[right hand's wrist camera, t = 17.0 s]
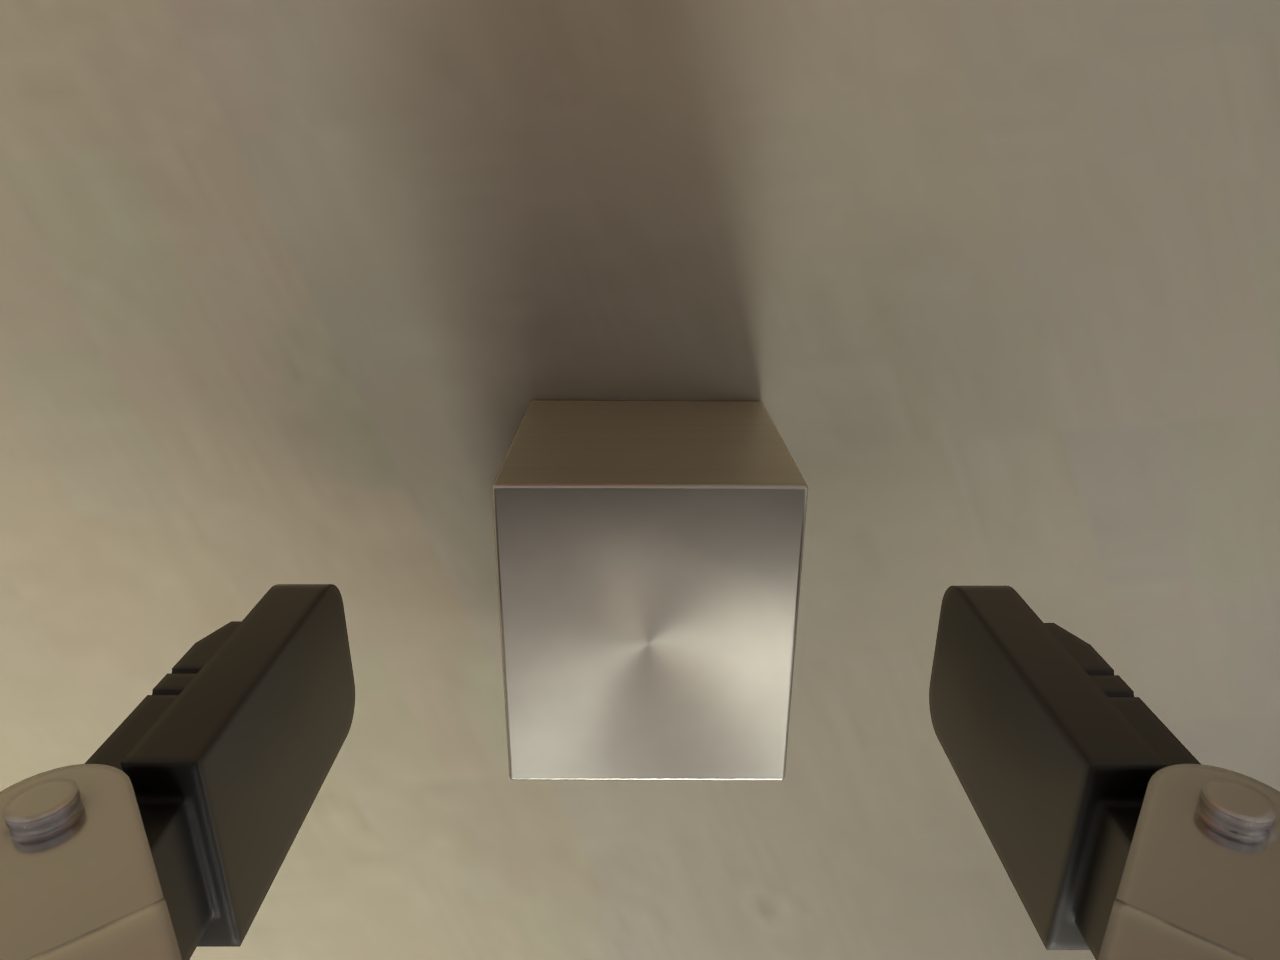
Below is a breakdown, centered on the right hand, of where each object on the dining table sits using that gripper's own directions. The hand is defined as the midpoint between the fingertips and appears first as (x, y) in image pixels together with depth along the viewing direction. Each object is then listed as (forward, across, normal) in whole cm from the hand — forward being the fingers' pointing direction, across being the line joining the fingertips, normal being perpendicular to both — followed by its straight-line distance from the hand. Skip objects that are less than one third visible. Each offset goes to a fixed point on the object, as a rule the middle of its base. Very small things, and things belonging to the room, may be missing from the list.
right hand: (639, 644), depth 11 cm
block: (+5, 0, 0) cm, 5 cm away
